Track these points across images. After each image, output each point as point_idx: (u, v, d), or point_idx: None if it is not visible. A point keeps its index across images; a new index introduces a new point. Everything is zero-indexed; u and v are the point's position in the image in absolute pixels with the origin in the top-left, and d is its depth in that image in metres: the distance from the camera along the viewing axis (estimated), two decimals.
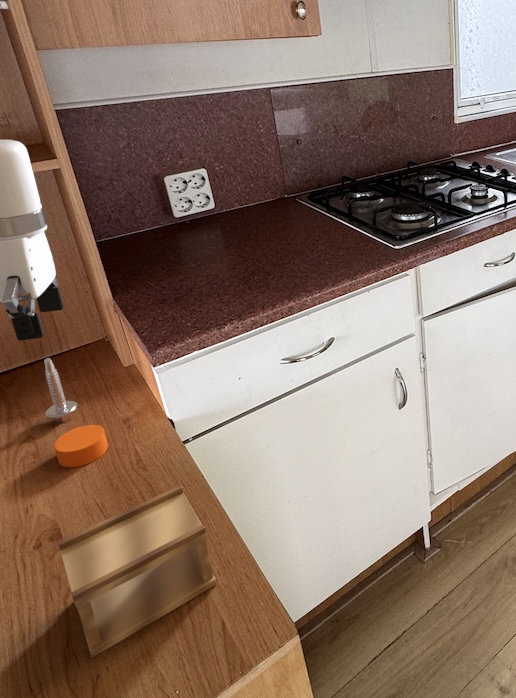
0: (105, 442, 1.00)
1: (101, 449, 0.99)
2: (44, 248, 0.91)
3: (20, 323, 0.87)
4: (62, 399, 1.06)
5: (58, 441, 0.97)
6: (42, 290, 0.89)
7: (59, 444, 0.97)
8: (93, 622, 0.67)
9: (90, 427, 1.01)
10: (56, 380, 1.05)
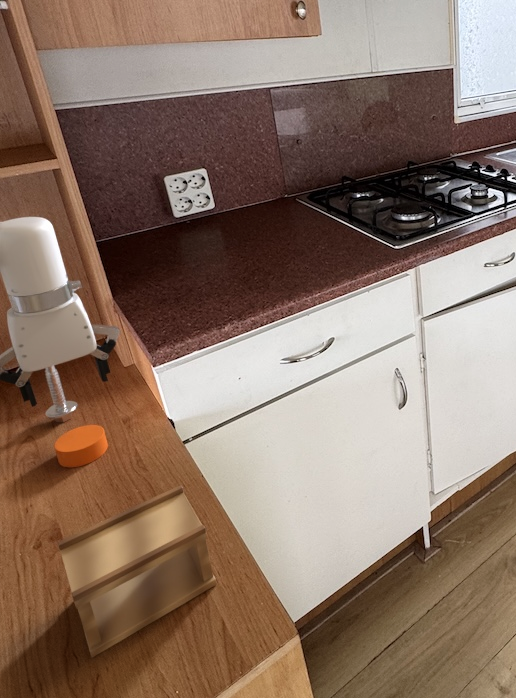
0: (105, 442, 1.00)
1: (101, 449, 0.99)
2: (62, 327, 0.90)
3: None
4: (62, 399, 1.06)
5: (58, 441, 0.97)
6: (43, 365, 0.90)
7: (59, 444, 0.97)
8: (93, 622, 0.67)
9: (90, 427, 1.01)
10: (56, 380, 1.05)
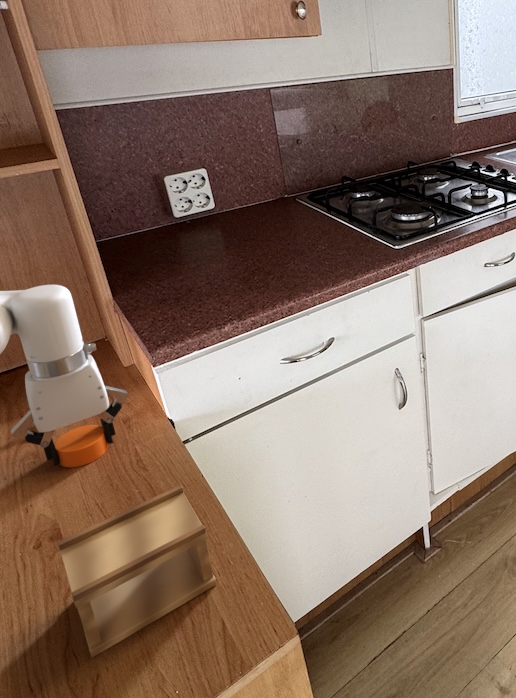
0: (105, 442, 1.00)
1: (101, 449, 0.99)
2: (77, 389, 0.94)
3: None
4: None
5: (58, 441, 0.97)
6: (58, 426, 0.94)
7: (59, 444, 0.97)
8: (93, 622, 0.67)
9: (90, 427, 1.01)
10: None
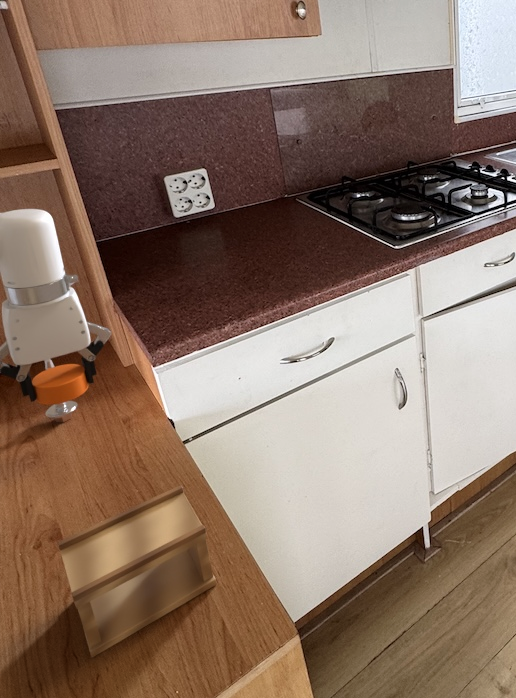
0: (85, 381, 0.96)
1: (81, 388, 0.94)
2: (57, 321, 0.90)
3: None
4: None
5: (36, 378, 0.93)
6: (36, 359, 0.89)
7: (36, 380, 0.92)
8: (93, 622, 0.67)
9: (70, 366, 0.96)
10: None
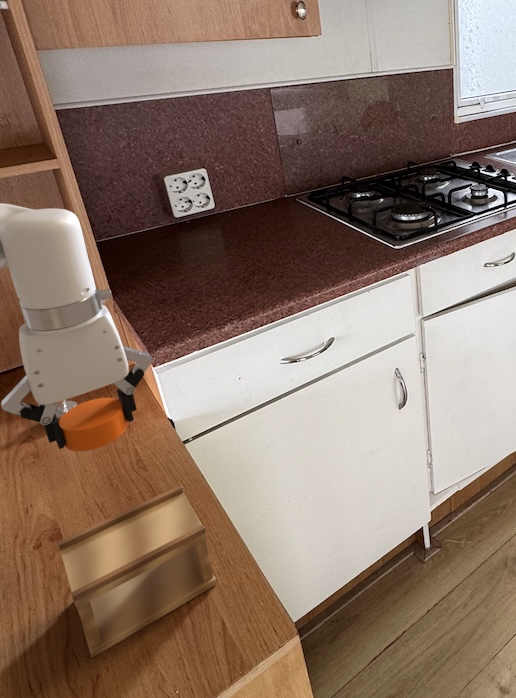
0: (124, 419, 0.78)
1: (119, 428, 0.76)
2: (88, 348, 0.72)
3: None
4: None
5: (63, 418, 0.75)
6: (64, 396, 0.71)
7: (64, 421, 0.74)
8: (93, 622, 0.67)
9: (104, 401, 0.78)
10: None
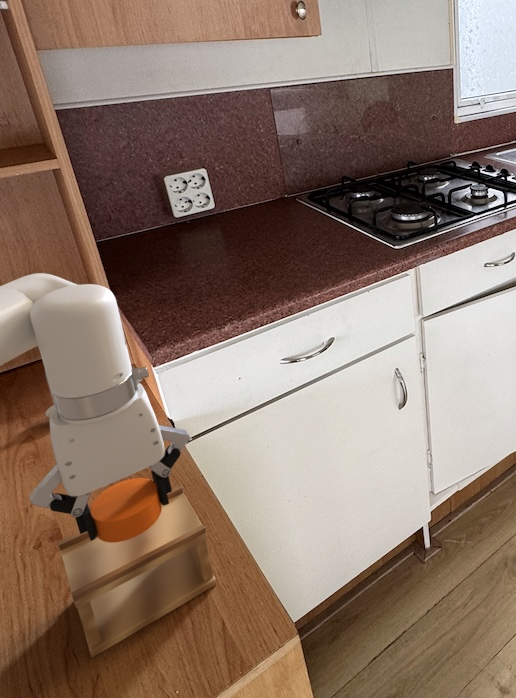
0: (159, 503, 0.72)
1: (154, 514, 0.71)
2: (123, 433, 0.66)
3: None
4: None
5: (95, 504, 0.69)
6: (97, 486, 0.66)
7: (96, 509, 0.69)
8: (93, 622, 0.67)
9: (137, 482, 0.73)
10: None
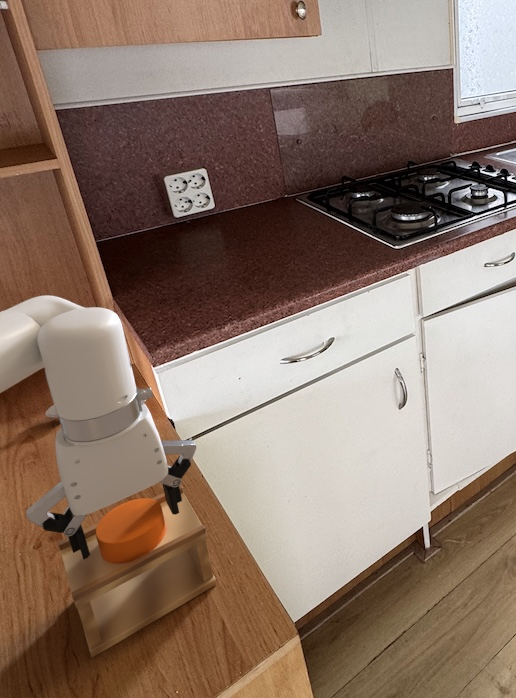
0: (163, 524, 0.73)
1: (159, 535, 0.72)
2: (127, 454, 0.67)
3: None
4: None
5: (100, 525, 0.70)
6: (101, 506, 0.67)
7: (102, 530, 0.70)
8: (93, 622, 0.67)
9: (142, 503, 0.74)
10: None
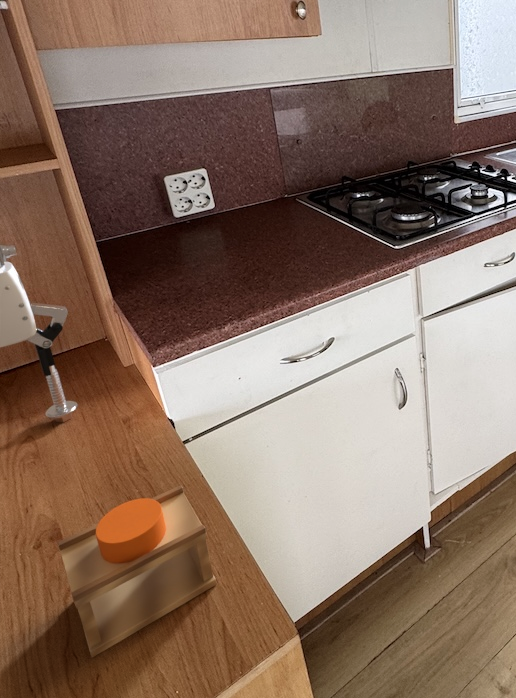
0: (163, 524, 0.73)
1: (159, 535, 0.72)
2: None
3: None
4: (62, 399, 1.06)
5: (100, 525, 0.70)
6: None
7: (102, 530, 0.70)
8: (93, 622, 0.67)
9: (142, 503, 0.74)
10: (56, 380, 1.05)
